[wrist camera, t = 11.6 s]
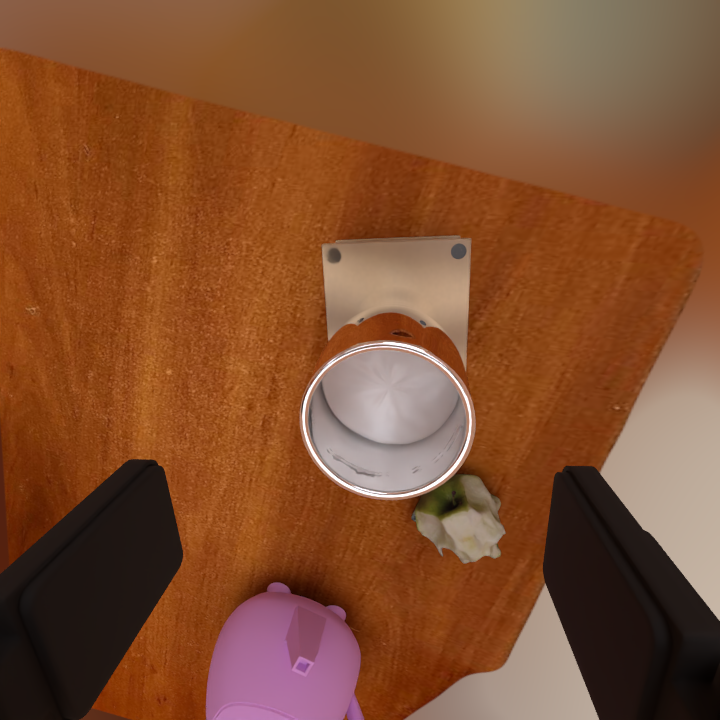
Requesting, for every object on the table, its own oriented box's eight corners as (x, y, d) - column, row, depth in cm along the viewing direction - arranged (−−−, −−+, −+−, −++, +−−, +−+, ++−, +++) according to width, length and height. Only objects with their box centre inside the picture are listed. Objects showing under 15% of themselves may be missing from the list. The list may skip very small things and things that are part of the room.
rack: (340, 238, 37) (321, 244, 28) (455, 234, 36) (471, 238, 27) (347, 366, 40) (332, 405, 32) (451, 366, 39) (464, 406, 31)
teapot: (420, 593, 48) (426, 747, 34) (355, 694, 55) (338, 858, 41) (265, 528, 48) (205, 658, 34) (218, 639, 54) (152, 786, 40)
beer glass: (394, 257, 28) (382, 293, 14) (465, 327, 29) (523, 428, 15) (327, 329, 30) (257, 425, 16) (396, 392, 31) (387, 535, 17)
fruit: (418, 453, 44) (433, 487, 36) (502, 469, 45) (535, 506, 37) (399, 531, 45) (410, 581, 37) (481, 546, 46) (509, 599, 38)
